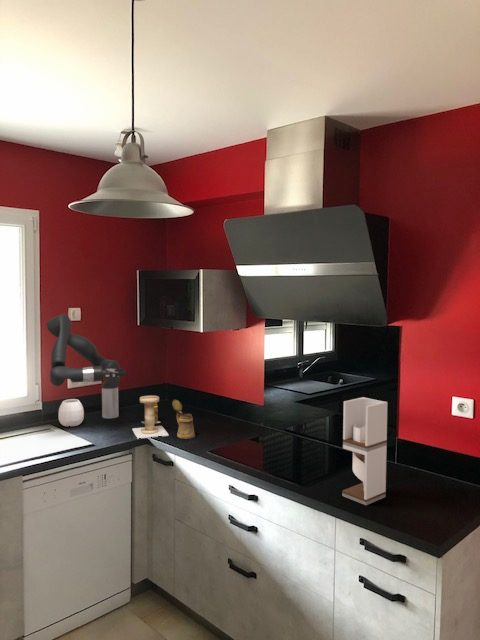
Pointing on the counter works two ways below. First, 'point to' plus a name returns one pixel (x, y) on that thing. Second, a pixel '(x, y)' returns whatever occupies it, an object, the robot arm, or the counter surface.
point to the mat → (140, 435)
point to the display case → (366, 447)
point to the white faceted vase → (71, 412)
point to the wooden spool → (149, 414)
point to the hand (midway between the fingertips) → (125, 372)
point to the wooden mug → (183, 422)
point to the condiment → (155, 413)
